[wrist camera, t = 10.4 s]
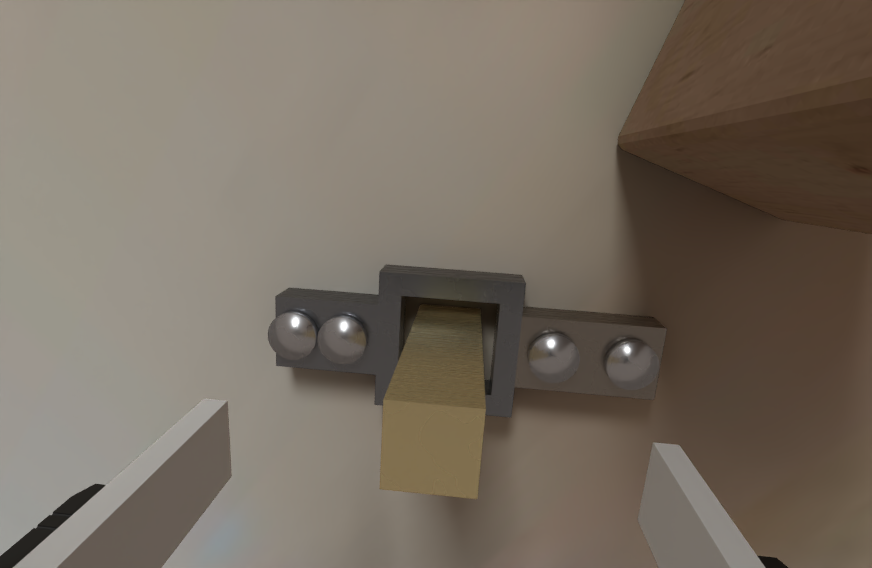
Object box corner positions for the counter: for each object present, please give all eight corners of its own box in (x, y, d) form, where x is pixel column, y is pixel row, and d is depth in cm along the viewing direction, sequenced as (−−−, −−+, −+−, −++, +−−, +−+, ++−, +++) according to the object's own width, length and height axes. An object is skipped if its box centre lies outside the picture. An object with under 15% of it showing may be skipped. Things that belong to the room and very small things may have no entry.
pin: (420, 303, 28) (383, 399, 16) (480, 308, 28) (485, 409, 16) (417, 359, 29) (379, 489, 17) (475, 364, 29) (477, 499, 17)
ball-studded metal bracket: (285, 256, 28) (266, 265, 25) (658, 285, 27) (677, 297, 24) (286, 380, 30) (268, 399, 27) (636, 412, 28) (652, 436, 26)
